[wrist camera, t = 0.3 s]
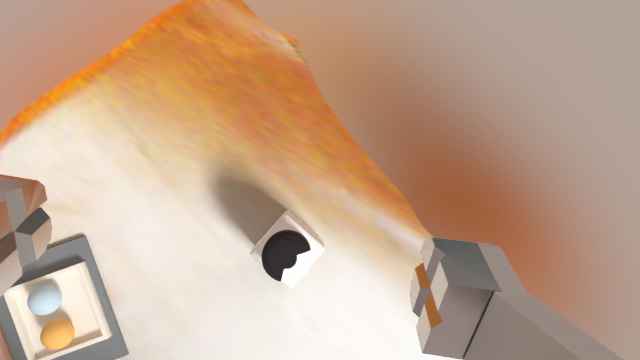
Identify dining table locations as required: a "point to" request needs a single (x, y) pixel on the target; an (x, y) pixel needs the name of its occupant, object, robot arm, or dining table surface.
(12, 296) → the cream tray
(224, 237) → the dining table surface
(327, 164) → the dining table surface
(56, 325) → the orange ball
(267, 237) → the medicine bottle
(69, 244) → the slate mat
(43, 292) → the blue ball
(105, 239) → the dining table surface
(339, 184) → the dining table surface
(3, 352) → the terracotta tray
